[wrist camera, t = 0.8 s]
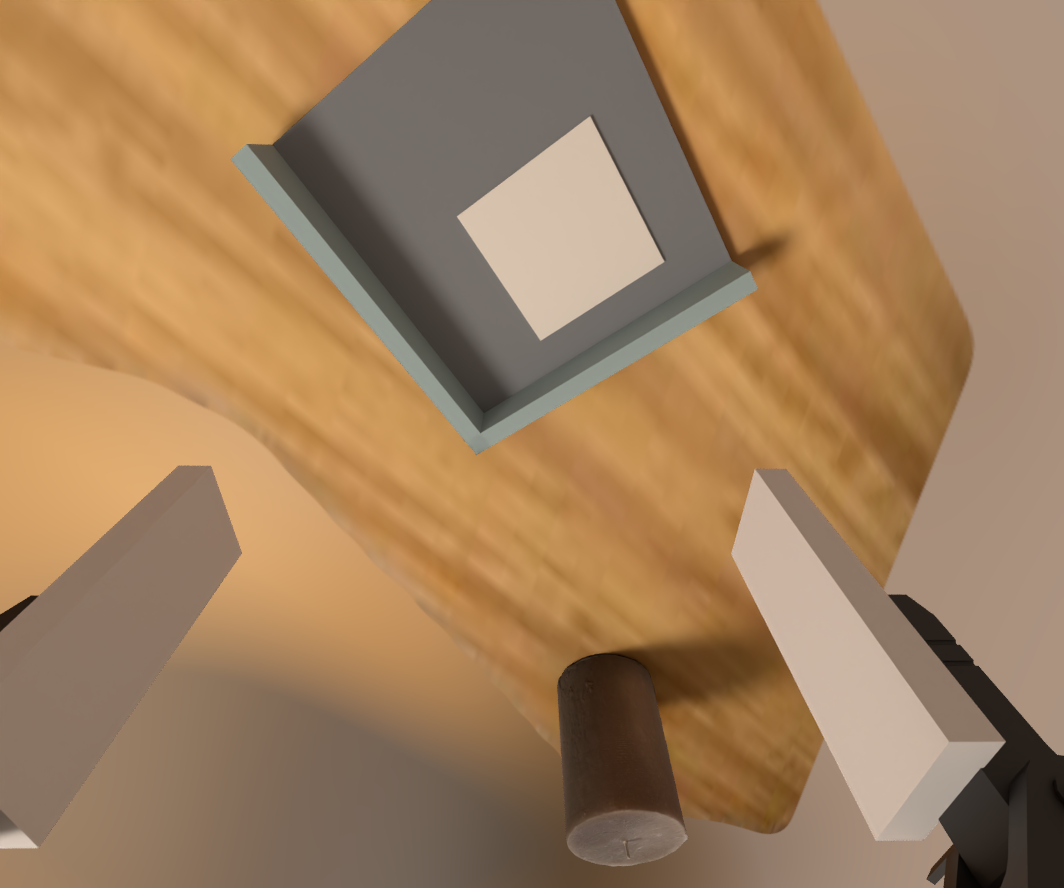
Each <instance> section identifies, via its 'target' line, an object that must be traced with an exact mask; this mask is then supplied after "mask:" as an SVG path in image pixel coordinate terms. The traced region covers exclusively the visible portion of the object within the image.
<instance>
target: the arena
mask: <svg viewBox="0 0 1064 888" xmlns="http://www.w3.org/2000/svg"><path fill="white" fill-rule="evenodd" d="M589 116H590V117H591V119H592V121H593V123H594V125H595V127H596V129H597V131H598V133H599V135H600V137H601V139H602V141H603V142H604V144H605V146H606V148H607V150H608V152H609V154H610V156H611V158H612V160H613V162H614V164H615V166H616V168H617V170H618V172H619V174H620V176H621V178H622V180H623V182H624V184H625V186H626V188H627V190H628V192H629V194H630V195H631V197H632V199H633V201H634V203H635V205H636V207H637V209H638V211H639V213H640V215H641V217H642V219H643V221H644V223H645V225H646V227H647V229H648V231H649V233H650V235H651V237H652V239H653V241H654V243H655V245H656V246H657V248H658V250H659V252H660V254H661V256H662V258H663V260H664V263H662V264H660V265H659V266H657V267H656V268H654V269H653V270H651V271H649V272H648V273H646V274H645V275H643V276H642V277H640V278H638V279H637V280H635V281H634V282H632V283H631V284H629V285H627V286H626V287H624V288H623V289H621V290H620V291H618V292H616V293H615V294H613V295H612V296H610V297H609V298H607V299H605V300H604V301H602V302H601V303H599V304H598V305H596V306H594V307H593V308H591V309H590V310H588V311H587V312H585V313H583V314H582V315H580V316H579V317H577V318H576V319H574V320H573V321H571V322H569V323H568V324H566V325H565V326H563V327H562V328H560V329H558V330H557V331H555V332H554V333H552V334H551V335H549V336H547V337H546V338H544V339H543V340H541V341H540V339H539V338H538V336H537V335H536V333H535V332H534V330H533V329H532V327H531V326H530V324H529V323H528V321H527V320H526V318H525V317H524V315H523V314H522V312H521V311H520V309H519V308H518V306H517V305H516V304H515V302H514V301H513V299H512V298H511V296H510V295H509V293H508V292H507V290H506V289H505V287H504V286H503V284H502V283H501V281H500V280H499V278H498V277H497V275H496V274H495V272H494V271H493V269H492V268H491V266H490V265H489V263H488V262H487V260H486V259H485V258H484V256H483V255H482V253H481V252H480V250H479V249H478V247H477V246H476V244H475V243H474V241H473V240H472V238H471V237H470V235H469V234H468V232H467V231H466V229H465V228H464V226H463V225H462V223H461V222H460V220H459V219H458V217H457V216H458V215H460V214H461V213H462V212H463V211H465V210H466V209H467V208H469V207H470V206H471V205H473V204H474V203H475V202H477V201H478V200H479V199H481V198H482V197H483V196H485V195H486V194H487V193H489V192H490V191H491V190H493V189H494V188H495V187H497V186H498V185H499V184H501V183H502V182H503V181H505V180H506V179H507V178H509V177H510V176H511V175H513V174H514V173H515V172H517V171H518V170H519V169H521V168H522V167H523V166H525V165H526V164H527V163H528V162H530V161H531V160H532V159H534V158H535V157H536V156H538V155H539V154H540V153H542V152H543V151H544V150H546V149H547V148H548V147H550V146H551V145H552V144H554V143H555V142H556V141H558V140H559V139H560V138H562V137H563V136H564V135H566V134H567V133H568V132H570V131H571V130H572V129H574V128H575V127H576V126H578V125H579V124H580V123H582V122H583V121H584V120H586V119H587V118H588V117H589ZM231 161H232V162H233V163H234V164H235V165H236V167H237V168H238V169H239V170H240V171H241V173H242V174H243V175H244V176H245V177H246V179H247V180H248V181H249V182H250V183H251V185H252V186H253V187H254V188H255V189H256V191H257V192H258V193H259V194H260V195H261V197H262V198H263V199H264V200H265V201H266V203H267V204H268V205H269V206H270V207H271V209H272V210H273V211H274V212H275V213H276V215H277V216H278V217H279V218H280V219H281V221H282V222H283V223H284V224H285V225H286V227H287V228H288V229H289V230H290V231H291V233H292V234H293V235H294V236H295V237H296V239H297V240H298V241H299V242H300V243H301V245H302V246H303V247H304V248H305V249H306V251H307V252H308V253H309V254H310V255H311V257H312V258H313V259H314V260H315V261H316V263H317V264H318V265H319V266H320V267H321V269H322V270H323V271H324V272H325V273H326V275H327V276H328V277H329V278H330V279H331V281H332V282H333V283H334V284H335V285H336V287H337V288H338V289H339V290H340V291H341V293H342V294H343V295H344V296H345V297H346V299H347V300H348V301H349V302H350V303H351V305H352V306H353V307H354V308H355V310H356V311H357V312H358V313H359V314H360V316H361V317H362V318H363V319H364V320H365V322H366V323H367V324H368V325H369V326H370V328H371V329H372V330H373V331H374V332H375V334H376V335H377V336H378V337H379V338H380V340H381V341H382V342H383V343H384V344H385V346H386V347H387V348H388V349H389V350H390V352H391V353H392V354H393V355H394V356H395V358H396V359H397V360H398V361H399V362H400V364H401V365H402V366H403V367H404V368H405V370H406V371H407V372H408V373H409V374H410V376H411V377H412V378H413V379H414V380H415V382H416V383H417V384H418V385H419V386H420V388H421V389H422V390H423V391H424V392H425V394H426V395H427V396H428V397H429V398H430V400H431V401H432V402H433V403H434V404H435V406H436V407H437V408H438V409H439V410H440V412H441V413H442V414H443V415H444V416H445V418H446V419H447V420H448V421H449V422H450V424H451V425H452V426H453V427H454V428H455V430H456V431H457V432H458V433H459V434H460V436H461V437H462V438H463V439H464V440H465V442H466V443H467V444H468V445H469V446H470V448H471V449H472V450H473V451H474V452H475V454H476V455H477V454H479V453H481V452H482V451H484V450H486V449H488V448H489V447H491V446H493V445H494V444H496V443H498V442H499V441H501V440H503V439H505V438H506V437H508V436H510V435H511V434H513V433H515V432H516V431H518V430H520V429H521V428H523V427H525V426H527V425H528V424H530V423H532V422H533V421H535V420H537V419H538V418H540V417H542V416H544V415H545V414H547V413H549V412H550V411H552V410H554V409H555V408H557V407H559V406H561V405H562V404H564V403H566V402H567V401H569V400H571V399H572V398H574V397H576V396H577V395H579V394H581V393H583V392H584V391H586V390H588V389H589V388H591V387H593V386H594V385H596V384H598V383H600V382H601V381H603V380H605V379H606V378H608V377H610V376H611V375H613V374H615V373H617V372H618V371H620V370H622V369H623V368H625V367H627V366H628V365H630V364H632V363H633V362H635V361H637V360H639V359H640V358H642V357H644V356H645V355H647V354H649V353H650V352H652V351H654V350H656V349H657V348H659V347H661V346H662V345H664V344H666V343H667V342H669V341H671V340H672V339H674V338H676V337H678V336H679V335H681V334H683V333H684V332H686V331H688V330H689V329H691V328H693V327H695V326H696V325H698V324H700V323H701V322H703V321H705V320H706V319H708V318H710V317H712V316H713V315H715V314H717V313H718V312H720V311H722V310H723V309H725V308H727V307H728V306H730V305H732V304H734V303H735V302H737V301H739V300H740V299H742V298H744V297H745V296H747V295H749V294H751V293H752V292H754V291H756V290H757V289H758V288H757V286H756V284H755V281H754V279H753V277H752V274H751V272H750V271H749V270H747V269H745V268H743V267H742V266H740V265H738V264H736V263H734V262H732V260H731V258H730V256H729V254H728V251H727V249H726V247H725V245H724V243H723V240H722V238H721V236H720V234H719V231H718V229H717V227H716V225H715V222H714V220H713V218H712V216H711V213H710V211H709V209H708V207H707V204H706V202H705V200H704V198H703V196H702V193H701V191H700V189H699V187H698V184H697V182H696V180H695V178H694V175H693V173H692V171H691V169H690V166H689V164H688V162H687V160H686V157H685V155H684V153H683V151H682V149H681V146H680V144H679V142H678V140H677V137H676V135H675V133H674V131H673V128H672V126H671V124H670V122H669V119H668V117H667V115H666V113H665V110H664V108H663V106H662V104H661V102H660V99H659V97H658V95H657V93H656V90H655V88H654V86H653V84H652V81H651V79H650V77H649V75H648V72H647V70H646V68H645V66H644V63H643V61H642V59H641V57H640V55H639V52H638V50H637V48H636V46H635V43H634V41H633V39H632V37H631V34H630V32H629V30H628V28H627V25H626V23H625V21H624V19H623V17H622V14H621V12H620V10H619V8H618V5H617V3H616V1H615V0H431V1H430V2H429V3H428V4H426V5H425V6H424V7H423V8H422V9H421V10H420V11H419V12H418V13H417V14H416V15H414V16H413V17H412V18H411V19H410V20H409V21H408V22H407V23H406V24H405V25H403V26H402V27H401V28H400V29H399V30H398V31H397V32H396V33H395V34H394V35H392V36H391V37H390V38H389V39H388V40H387V41H386V42H385V43H384V44H383V45H382V46H380V47H379V48H378V49H377V50H376V51H375V52H374V53H373V54H372V55H371V56H369V57H368V58H367V59H366V60H365V61H364V62H363V63H362V64H361V65H360V66H358V67H357V68H356V69H355V70H354V71H353V72H352V73H351V74H350V75H349V76H347V77H346V78H345V79H344V80H343V81H342V82H341V83H340V84H339V85H338V86H337V87H335V88H334V89H333V90H332V91H331V92H330V93H329V94H328V95H327V96H326V97H324V98H323V99H322V100H321V101H320V102H319V103H318V104H317V105H316V106H315V107H313V108H312V109H311V110H310V111H309V112H308V113H307V114H306V115H305V116H304V117H303V118H301V119H300V120H299V121H298V122H297V123H296V124H295V125H294V126H293V127H292V128H290V129H289V130H288V131H287V132H286V133H285V134H284V135H283V136H282V137H281V138H279V139H278V140H277V141H276V142H275V143H274V144H273V145H258V144H246V145H245V146H244V147H243V148H242V149H241V150H240V151H239V152H238V153H237V154H236V155H234V156H233V157H232V158H231Z"/></svg>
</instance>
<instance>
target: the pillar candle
mask: <svg viewBox="0 0 1064 888" xmlns="http://www.w3.org/2000/svg"><path fill="white" fill-rule="evenodd" d="M557 689H558V705H559V724H560V739H561V756H562V771H563V789H564V803H565V804H564V806H565V823H566V839H567V845H568V847H569V849H570V850H571V851H572V852H573V853H574V854H575V855H576V856H578V857H579V858H582V859H584V860H587V861H590V862H593V863H596V864H604V865H610V866H620V865H621V866H630V865H636V864H639V863H643V862H650V861H653V860H657V859H660V858H662V857H665V856H666V855H668V854H669V853H672V852H674V851H675V850H677V849H678V848H679V847H680V846H681V845H682V843H683V842H684V841H686V840H687V838H688V835H687V834H686V829H685V825H684V821H683V816H682V811H681V808H680V803H679V799H678V794H677V789H676V784H675V781H674V776H673V772H672V767H671V763H670V758H669V753H668V749H667V744H666V741H665V737H664V732H663V727H662V722H661V718H660V714H659V710H658V706H657V701H656V697H655V691H654V687H653V683H652V680H651V677H650V674H649V673H648V671H647V670H646V669H645V668H644V666H642V665H641V664H640V663H638V662H636V661H634V660H631V659H628V658H625V657H621V656H617V655H598V656H596V655H595V656H593V657H592V656H591V657H588V658H585V659H582V660H580V661H578V662H576V663H575V664H573V665H570V666H569V667H567V668H566V669H565V670H564V672H563V673H562V675H561V677H560V678H559V680H558V687H557Z"/></svg>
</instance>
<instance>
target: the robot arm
mask: <svg viewBox="0 0 1064 888" xmlns="http://www.w3.org/2000/svg"><path fill="white" fill-rule="evenodd" d="M241 554H242V552H241V549H240V546H239V543H238V541H237V538H236V535H235V532H234V530H233V527H232V524H231V521H230V518H229V515H228V513H227V510H226V507H225V505H224V501H223V499H222V496H221V493H220V490H219V487H218V484H217V481H216V479H215V476H214V473H213V470H212V467H211V466H178V467H177V468H176V469H175V470H173V471H172V472H171V473H170V474H169V475H168V476H167V477H166V478H165V479H164V480H163V481H162V482H160V483H159V484H158V485H157V486H156V487H155V488H154V489H153V490H152V491H151V492H150V493H149V494H148V495H147V496H145V497H144V498H143V499H142V500H141V501H140V502H139V503H138V504H137V505H136V506H135V507H134V508H133V509H132V510H130V511H129V512H128V513H127V514H126V515H125V516H124V517H123V518H122V519H121V520H120V521H119V522H118V523H117V524H115V525H114V526H113V527H112V528H111V529H110V530H109V531H108V532H107V533H106V534H105V535H104V536H103V537H102V538H101V539H100V540H98V541H97V542H96V543H95V544H94V545H93V546H92V547H91V548H90V549H89V550H88V551H87V552H86V553H84V554H83V555H82V556H81V557H80V558H79V559H78V560H77V561H76V562H75V563H74V564H73V565H72V566H70V568H68V569H67V570H66V571H65V572H64V573H63V574H62V575H61V576H60V577H59V578H58V579H57V580H55V581H54V582H53V583H52V584H51V585H50V586H49V587H48V588H47V589H46V590H45V591H44V592H43V593H42V594H40V596H30V597H28V598H27V599H25V600H23V601H22V602H20V603H18V604H17V605H15V606H13V607H12V608H10V609H9V610H7V611H5V612H4V613H2V614H0V848H39V847H40V846H41V844H42V843H43V841H44V840H45V839H46V837H47V836H48V834H49V832H50V831H51V830H52V828H53V827H54V825H55V824H56V823H57V821H58V820H59V818H60V817H61V815H62V814H63V812H64V811H65V809H66V808H67V807H68V805H69V804H70V802H71V801H72V799H73V798H74V796H75V795H76V793H77V792H78V791H79V789H80V788H81V786H82V785H83V783H84V782H85V780H86V779H87V777H88V776H89V775H90V773H91V772H92V770H93V769H94V767H95V766H96V764H97V763H98V761H99V760H100V759H101V757H102V756H103V754H104V753H105V751H106V750H107V748H108V747H109V745H110V744H111V743H112V741H113V740H114V738H115V737H116V735H117V734H118V732H119V731H120V730H121V728H122V727H123V725H124V724H125V722H126V721H127V719H128V718H129V717H130V715H131V714H132V712H133V711H134V709H135V708H136V706H137V705H138V703H139V702H140V701H141V699H142V697H143V696H144V695H145V693H146V692H147V690H148V689H149V687H150V686H151V685H152V683H153V682H154V680H155V679H156V677H157V676H158V674H159V673H160V671H161V670H162V669H163V667H164V666H165V664H166V663H167V661H168V660H169V658H170V657H171V655H172V654H173V653H174V651H175V650H176V648H177V647H178V645H179V643H180V642H181V641H182V639H183V638H184V636H185V635H186V634H187V632H188V631H189V629H190V628H191V626H192V625H193V624H194V622H195V621H196V619H197V618H198V616H199V615H200V613H201V612H202V610H203V609H204V608H205V606H206V605H207V603H208V602H209V600H210V599H211V597H212V595H213V594H214V593H215V592H216V590H217V588H218V587H219V586H220V584H221V583H222V581H223V580H224V578H225V577H226V576H227V574H228V572H229V571H230V570H231V568H232V567H233V565H234V564H235V562H236V561H237V560H238V558H239V556H240V555H241ZM731 555H732V557H733V559H734V561H735V562H736V564H737V566H738V568H739V570H740V572H741V574H742V576H743V578H744V580H745V582H746V584H747V586H748V588H749V590H750V592H751V594H752V596H753V598H754V600H755V602H756V604H757V606H758V608H759V610H760V612H761V614H762V616H763V618H764V620H765V622H766V624H767V626H768V628H769V630H770V632H771V634H772V636H773V638H774V640H775V642H776V644H777V646H778V648H779V650H780V652H781V654H782V656H783V657H784V659H785V661H786V663H787V665H788V667H789V669H790V671H791V673H792V675H793V677H794V679H795V681H796V683H797V685H798V687H799V689H800V691H801V693H802V695H803V697H804V699H805V701H806V703H807V705H808V707H809V709H810V711H811V713H812V715H813V717H814V719H815V721H816V723H817V725H818V727H819V729H820V731H821V733H822V735H823V737H824V739H825V741H826V743H827V745H828V746H829V749H830V750H831V752H832V754H833V756H834V758H835V760H836V762H837V764H838V766H839V768H840V770H841V772H842V774H843V776H844V778H845V780H846V782H847V784H848V786H849V788H850V790H851V792H852V794H853V796H854V798H855V800H856V802H857V804H858V806H859V808H860V810H861V812H862V814H863V816H864V817H865V820H866V822H867V824H868V826H869V828H870V829H871V832H872V834H873V836H874V838H875V840H876V841H882V840H883V841H886V840H887V841H888V840H924V838H925V837H926V836H927V835H928V834H929V833H930V832H931V830H932V829H933V828H934V827H935V825H936V824H937V823H938V822H939V821H940V823H941V824H942V826H943V827H944V829H945V831H946V833H947V834H948V836H949V837H950V839H951V841H952V842H953V845H952V846H951V847H950V848H949V849H948V851H947V852H946V853H945V854H944V855H943V856H942V857H941V858H940V859H939V860H938V862H937V863H936V864H935V865H934V866H933V867H932V868H931V871H930V873H929V875H928V877H927V880H928V881H930V882H932V883H933V884H934V885H935V884H936V883H937V882H938V881H939V880H940V879H941V878H942V877H943V876H944V875H945V878H944V888H1064V756H1061V755H1057V754H1056V753H1055V752H1054V751H1053V750H1052V749H1051V748H1050V747H1049V746H1048V745H1047V744H1046V743H1045V742H1044V741H1043V740H1042V738H1040V736H1039V735H1038V734H1037V733H1036V732H1035V730H1034V729H1033V728H1032V727H1031V726H1030V725H1029V724H1028V723H1027V721H1026V720H1025V719H1024V718H1023V717H1022V715H1021V714H1020V713H1019V712H1018V711H1017V710H1016V709H1015V707H1014V706H1013V705H1012V704H1011V703H1010V702H1009V701H1008V699H1007V698H1006V697H1005V696H1004V695H1003V694H1002V692H1001V691H1000V690H999V689H998V688H997V687H996V686H995V684H994V683H993V682H992V681H991V680H990V679H989V678H988V676H987V675H986V674H985V673H984V672H983V671H982V670H981V668H980V667H979V666H975V665H974V663H973V659H972V658H971V657H970V656H969V655H968V653H967V652H966V651H965V650H964V649H963V648H962V647H961V646H960V645H957V644H956V640H955V639H954V637H952V635H951V634H950V633H949V632H948V630H947V629H946V628H945V627H944V626H943V625H942V624H941V622H940V621H939V620H938V619H937V618H936V617H935V616H934V615H933V614H932V613H930V612H929V611H928V610H926V609H925V608H924V607H922V606H921V605H919V604H918V603H917V602H915V601H914V600H913V599H911V598H910V597H908V596H907V595H887V594H886V592H885V591H884V590H883V589H882V587H881V586H880V585H879V584H878V582H877V581H876V580H875V579H874V577H873V576H872V575H871V574H870V572H869V571H868V570H867V569H866V567H865V566H864V565H863V564H862V562H861V561H860V560H859V559H858V558H857V556H856V555H855V554H854V553H853V551H852V550H851V549H850V548H849V546H848V545H847V544H846V543H845V541H844V540H843V539H842V538H841V536H840V535H839V534H838V533H837V531H836V530H835V529H834V528H833V527H832V525H831V524H830V523H829V522H828V520H827V519H826V518H825V517H824V515H823V514H822V513H821V512H820V510H819V509H818V508H817V507H816V505H815V504H814V503H813V502H812V500H811V499H810V498H809V497H808V495H807V494H806V493H805V492H804V491H803V489H802V488H801V487H800V486H799V484H798V483H797V482H796V481H795V479H794V478H793V477H792V476H791V474H790V473H789V472H788V471H787V469H755V471H754V475H753V478H752V482H751V485H750V489H749V493H748V496H747V500H746V503H745V507H744V510H743V514H742V518H741V521H740V525H739V528H738V532H737V536H736V539H735V543H734V546H733V550H732V554H731Z"/></svg>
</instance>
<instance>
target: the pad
mask: <svg viewBox="0 0 1064 888" xmlns="http://www.w3.org/2000/svg"><path fill="white" fill-rule="evenodd" d="M457 217H458V219H459V220H460V222H461V223H462V225H463V226H464V228H465V229H466V231H467V232H468V234H469V235H470V237H471V238H472V240H473V241H474V243H475V244H476V246H477V247H478V249H479V250H480V252H481V253H482V255H483V256H484V258H485V259H486V260H487V262H488V263H489V265H490V266H491V268H492V269H493V271H494V272H495V274H496V275H497V277H498V278H499V280H500V281H501V283H502V284H503V286H504V287H505V289H506V290H507V292H508V293H509V295H510V296H511V298H512V299H513V301H514V302H515V304H516V305H517V306H518V308H519V309H520V311H521V312H522V314H523V315H524V317H525V318H526V320H527V321H528V323H529V324H530V326H531V327H532V329H533V330H534V332H535V333H536V335H537V336H538V338H539V339H540V341H541V340H543V339H544V338H546V337H547V336H549V335H551V334H552V333H554V332H555V331H557V330H558V329H560V328H562V327H563V326H565V325H566V324H568V323H569V322H571V321H573V320H574V319H576V318H577V317H579V316H580V315H582V314H583V313H585V312H587V311H588V310H590V309H591V308H593V307H594V306H596V305H598V304H599V303H601V302H602V301H604V300H605V299H607V298H609V297H610V296H612V295H613V294H615V293H616V292H618V291H620V290H621V289H623V288H624V287H626V286H627V285H629V284H631V283H632V282H634V281H635V280H637V279H638V278H640V277H642V276H643V275H645V274H646V273H648V272H649V271H651V270H653V269H654V268H656V267H657V266H659V265H660V264H662V263H664V260H663V258H662V256H661V254H660V252H659V250H658V248H657V246H656V245H655V243H654V241H653V239H652V237H651V235H650V233H649V231H648V229H647V227H646V225H645V223H644V221H643V219H642V217H641V215H640V213H639V211H638V209H637V207H636V205H635V203H634V201H633V199H632V197H631V195H630V194H629V192H628V190H627V188H626V186H625V184H624V182H623V180H622V178H621V176H620V174H619V172H618V170H617V168H616V166H615V164H614V162H613V160H612V158H611V156H610V154H609V152H608V150H607V148H606V146H605V144H604V142H603V141H602V139H601V137H600V135H599V133H598V131H597V129H596V127H595V125H594V123H593V121H592V119H591V117H590V116H589V117H588V118H587V119H586V120H584V121H583V122H582V123H580V124H579V125H578V126H576V127H575V128H574V129H572V130H571V131H570V132H568V133H567V134H566V135H564V136H563V137H562V138H560V139H559V140H558V141H556V142H555V143H554V144H552V145H551V146H550V147H548V148H547V149H546V150H544V151H543V152H542V153H540V154H539V155H538V156H536V157H535V158H534V159H532V160H531V161H530V162H528V163H527V164H526V165H525V166H523V167H522V168H521V169H519V170H518V171H517V172H515V173H514V174H513V175H511V176H510V177H509V178H507V179H506V180H505V181H503V182H502V183H501V184H499V185H498V186H497V187H495V188H494V189H493V190H491V191H490V192H489V193H487V194H486V195H485V196H483V197H482V198H481V199H479V200H478V201H477V202H475V203H474V204H473V205H471V206H470V207H469V208H467V209H466V210H465V211H463V212H462V213H461V214H460V215H458V216H457Z"/></svg>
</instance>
